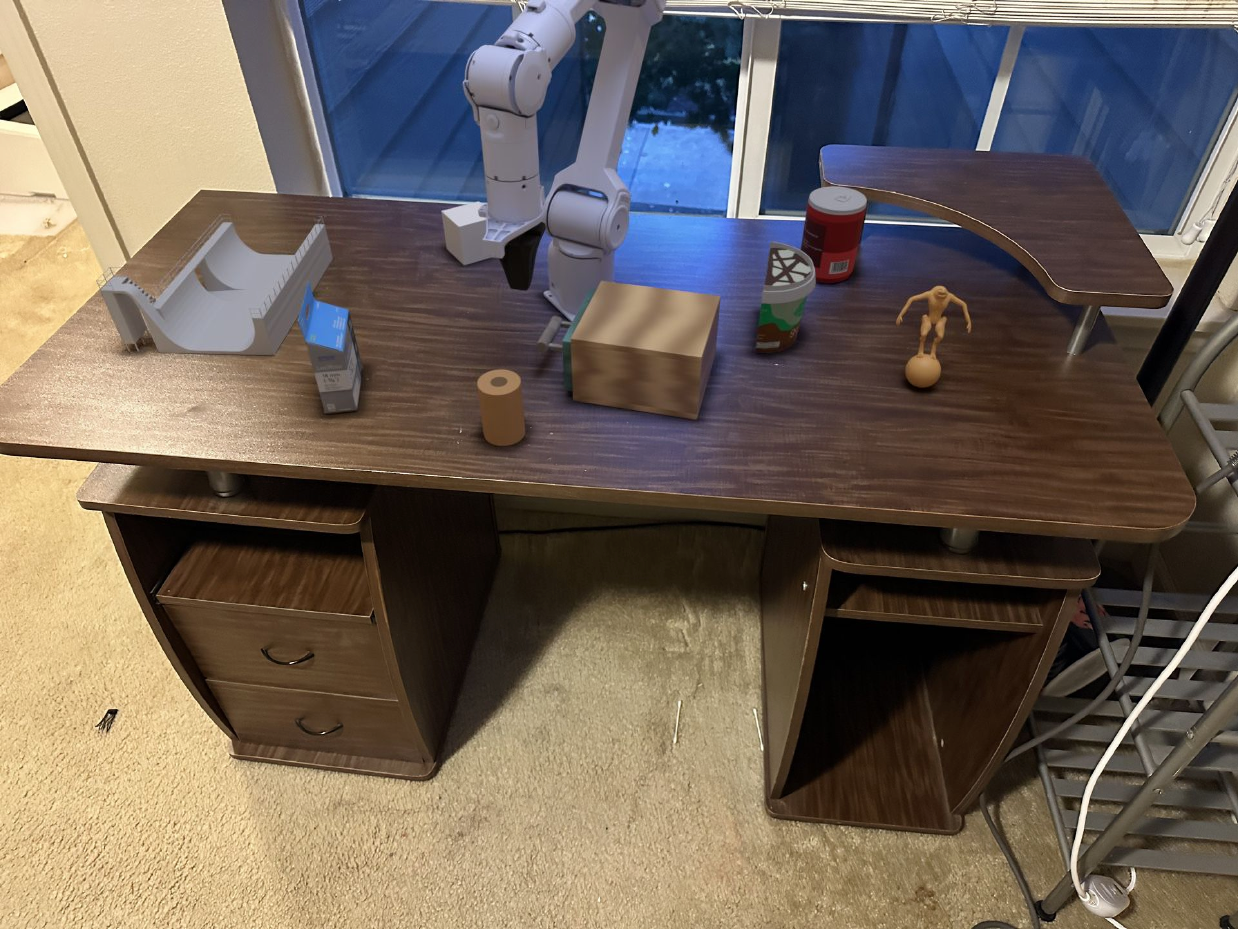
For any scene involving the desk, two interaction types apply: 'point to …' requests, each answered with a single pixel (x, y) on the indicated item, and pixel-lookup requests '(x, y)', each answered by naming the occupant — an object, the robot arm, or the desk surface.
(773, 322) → the food container
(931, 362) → the figurine
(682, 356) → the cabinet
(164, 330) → the skate ramp
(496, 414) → the paper roll
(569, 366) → the drawer
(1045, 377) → the desk surface
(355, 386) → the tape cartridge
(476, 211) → the white cube
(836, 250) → the canned food
